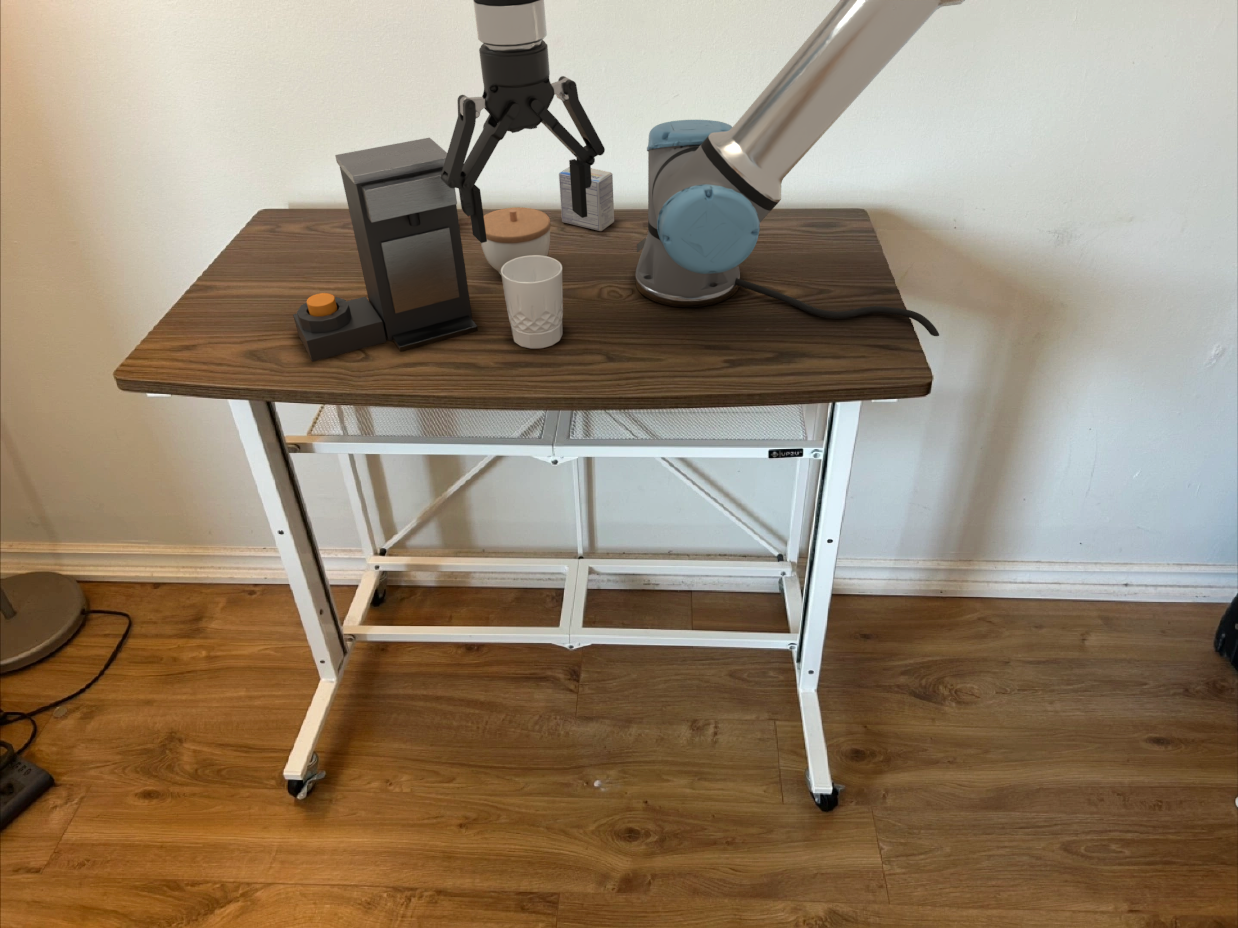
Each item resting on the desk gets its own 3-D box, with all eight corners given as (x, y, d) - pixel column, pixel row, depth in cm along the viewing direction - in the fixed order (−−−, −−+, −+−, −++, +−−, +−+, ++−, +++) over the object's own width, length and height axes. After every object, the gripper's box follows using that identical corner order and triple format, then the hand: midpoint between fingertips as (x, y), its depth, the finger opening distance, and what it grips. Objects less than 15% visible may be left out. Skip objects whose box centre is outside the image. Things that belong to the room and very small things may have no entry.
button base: (370, 316, 125) (363, 284, 122) (386, 342, 120) (379, 308, 117) (298, 334, 122) (289, 302, 119) (312, 362, 116) (303, 328, 113)
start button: (333, 302, 119) (330, 290, 118) (340, 313, 117) (337, 301, 116) (306, 308, 118) (303, 296, 117) (313, 320, 115) (310, 308, 114)
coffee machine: (370, 315, 126) (334, 154, 111) (453, 294, 130) (429, 137, 116) (395, 353, 117) (360, 185, 103) (482, 329, 122) (461, 164, 108)
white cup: (558, 354, 117) (553, 285, 110) (500, 348, 118) (492, 280, 112) (572, 324, 123) (568, 257, 116) (517, 319, 124) (511, 253, 118)
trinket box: (566, 263, 137) (563, 204, 131) (526, 291, 130) (521, 231, 124) (510, 248, 142) (504, 191, 136) (469, 275, 135) (460, 216, 129)
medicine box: (615, 222, 149) (613, 171, 143) (600, 232, 146) (598, 181, 140) (576, 213, 152) (573, 163, 147) (561, 223, 149) (557, 172, 144)
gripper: (598, 18, 104) (605, 194, 117) (392, 52, 95) (425, 237, 109) (629, 31, 99) (633, 213, 112) (414, 68, 90) (446, 261, 103)
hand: (531, 226), depth 110 cm, fingers open, 13 cm apart
